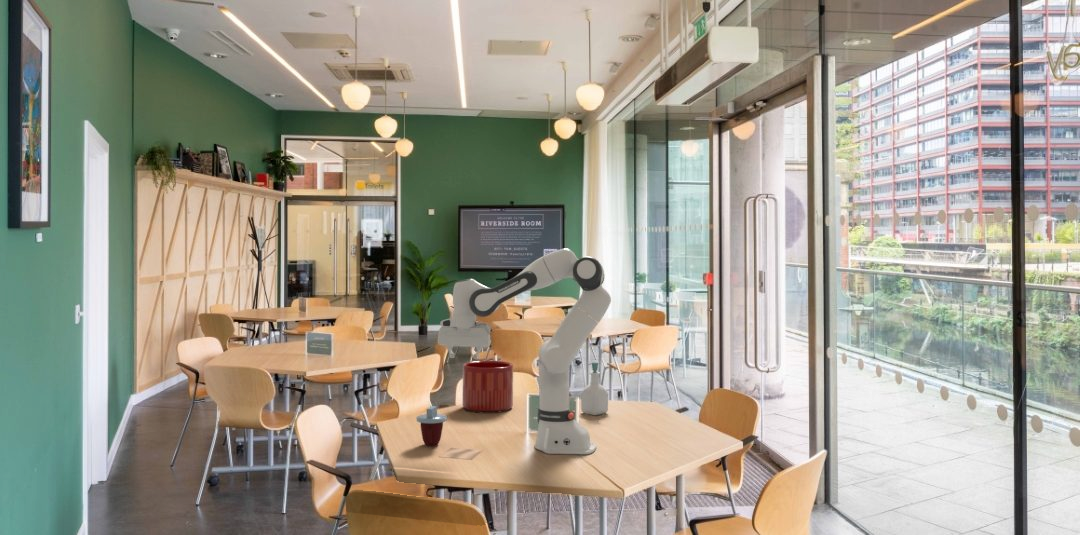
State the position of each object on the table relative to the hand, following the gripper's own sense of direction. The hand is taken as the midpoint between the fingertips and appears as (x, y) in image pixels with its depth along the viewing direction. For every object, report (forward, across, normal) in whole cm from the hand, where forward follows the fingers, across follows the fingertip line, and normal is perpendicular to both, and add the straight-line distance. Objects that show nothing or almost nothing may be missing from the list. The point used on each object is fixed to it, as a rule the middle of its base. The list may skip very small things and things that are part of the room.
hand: (464, 358), depth 271 cm
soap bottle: (+31, -40, -60) cm, 79 cm away
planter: (+31, +9, -57) cm, 66 cm away
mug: (+31, +8, +12) cm, 34 cm away
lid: (+21, +8, +12) cm, 26 cm away
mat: (+31, -6, +19) cm, 37 cm away
